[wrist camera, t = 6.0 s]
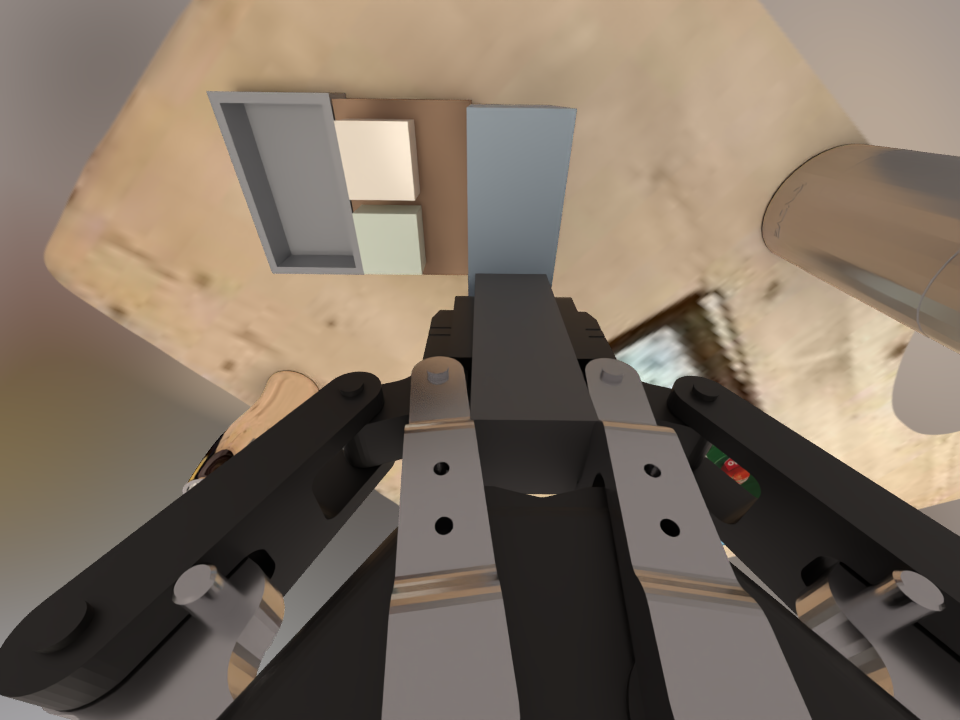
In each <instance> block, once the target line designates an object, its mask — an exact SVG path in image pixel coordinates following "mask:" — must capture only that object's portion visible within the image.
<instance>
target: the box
mask: <svg viewBox="0 0 960 720" xmlns="http://www.w3.org/2000/svg"><path fill="white" fill-rule="evenodd" d="M206 92H207V95H208V97H209V100H210V103H211V106H212V108H213V111H214V114H215V117H216V119H217V122H218V125H219V128H220V130H221V133H222V136H223V139H224V141H225V144H226V147H227V150H228V152H229V155H230V158H231V161H232V163H233V166H234V169H235V172H236V174H237V177H238V180H239V183H240V186H241V188H242V191H243V194H244V197H245V199H246V202H247V205H248V208H249V210H250V213H251V216H252V219H253V221H254V224H255V227H256V230H257V232H258V235H259V238H260V241H261V243H262V246H263V249H264V252H265V254H266V257H267V260H268V263H269V265H270V268H271V271H272V273H276V274H353V275H364V271H363V266H362V261H361V256H360V251H359V245H358V240H357V235H356V230H355V225H354V220H353V215H352V213H353V207H352V201H351V200H349V195H348V190H347V185H346V180H345V175H344V170H343V165H342V159H341V154H340V149H339V144H338V139H337V134H336V129H335V124H334V121H335V120H336V119H335V114H334V109H333V104H332V99H346V95H345V93H294V92H220V91H206Z"/></svg>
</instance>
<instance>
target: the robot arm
mask: <svg viewBox="0 0 960 720" xmlns="http://www.w3.org/2000/svg"><path fill="white" fill-rule="evenodd" d="M762 231H763V239H764V241H765V244H766V246H767V247H768V248H769V250H770V251H771V252H773V253H774V254H776V255H778V256H780V257H781V258H783V259H785V260H787V261H789V262H790V263H792V264H794V265H796V266H798V267H800V268H801V269H803V270H805V271H806V272H808V273H810V274H812V275H814V276H815V277H817V278H819V279H821V280H823V281H825V282H827V283H828V284H830V285H832V286H834V287H836V288H838V289H839V290H841V291H843V292H845V293H847V294H849V295H851V296H852V297H854V298H856V299H858V300H860V301H862V302H863V303H865V304H867V305H869V306H871V307H873V308H874V309H876V310H878V311H880V312H882V313H884V314H886V315H887V316H889V317H891V318H893V319H895V320H897V321H898V322H900V323H902V324H904V325H906V326H908V327H910V328H911V329H913V330H915V331H917V332H919V333H921V334H923V335H924V336H926V337H928V338H931V339H932V340H934V341H936V342H938V343H940V344H942V345H943V346H945V347H947V348H949V349H951V350H953V351H955V352H956V353H958V354H960V157H957V156H950V155H942V154H934V153H927V152H919V151H912V150H905V149H898V148H890V147H881V146H874V145H866V144H849V145H843V146H838V147H836V148H833V149H830V150H828V151H825V152H823V153H821V154H819V155H818V156H816V157H814V158H812V159H811V160H809V161H808V162H806V163H805V164H804V165H802V166H801V167H800V168H799V169H797V170H796V171H795V172H794V173H793V174H792V175H791V176H790V177H789V178H788V179H787V180H786V181H785V182H784V183H783V184H782V186H781V187H780V188H779V190H778V191H777V192H776V193H775V195H774V197H773V199H772V200H771V202H770V204H769V206H768V208H767V211H766V213H765V216H764V221H763V227H762ZM474 297H475V296H455V303H454V310H440V311H439V312H438V313H437V314H436V315H435V316H434V317H433V318H432V321H431V325H430V330H429V336H428V339H427V343H426V348H425V352H424V357H423V360H422V361H420V362H419V363H417V364H416V365H415V366H414V368H413V370H412V373H411V376H410V377H408V378H406V379H403V380H400V381H396V382H391V383H386V384H381V382H380V380H379V378H378V377H377V376H375V375H373V374H371V373H368V372H351V373H347V374H344V375H341V376H339V377H337V378H335V379H334V380H332V381H331V382H330V383H328V384H327V385H326V386H324V387H323V388H322V389H320V390H319V391H318V392H317V393H315V394H314V395H313V396H311V397H310V398H309V399H307V400H306V401H305V402H303V403H302V404H301V405H300V406H298V407H297V408H296V409H294V410H293V411H292V412H290V413H289V414H288V415H286V416H285V417H284V418H283V419H281V420H280V421H279V422H277V423H276V424H275V425H273V426H272V427H271V428H269V429H268V430H267V431H266V432H264V433H263V434H262V435H260V436H259V437H258V438H256V439H255V440H254V441H252V442H251V443H250V444H249V445H247V446H246V447H245V448H243V449H242V450H241V451H239V452H238V453H237V454H235V455H234V456H233V457H232V458H230V459H229V460H228V461H226V462H225V463H224V464H222V465H221V466H220V467H218V468H217V469H216V470H215V471H213V472H212V473H211V474H209V475H208V476H207V477H205V478H204V479H203V480H201V481H200V482H199V483H198V484H196V485H195V486H194V487H192V488H191V489H190V490H188V491H187V492H186V493H184V494H183V495H182V496H181V497H179V498H178V499H177V500H175V501H174V502H173V503H172V504H170V505H169V506H168V507H166V508H165V509H164V510H162V511H161V512H160V513H158V514H157V515H156V516H155V517H153V518H152V519H151V520H149V521H148V522H147V523H145V524H144V525H143V526H141V527H140V528H139V529H138V530H136V531H135V532H134V533H132V534H131V535H130V536H128V537H127V538H126V539H124V540H123V541H122V542H120V543H119V544H118V545H117V546H115V547H114V548H113V549H111V550H110V551H109V552H107V553H106V554H105V555H103V556H102V557H101V558H100V559H98V560H97V561H96V562H94V563H93V564H92V565H90V566H89V567H88V568H86V569H85V570H84V571H83V572H81V573H80V574H79V575H78V576H76V577H75V578H74V579H72V580H71V581H69V582H68V583H67V584H66V585H64V586H63V587H62V588H60V589H59V590H58V591H56V592H55V593H54V594H52V595H51V596H50V597H49V598H47V599H46V600H45V601H44V602H42V603H41V604H40V605H39V606H37V607H36V608H35V609H34V610H32V611H31V612H30V613H29V614H28V615H27V616H26V617H25V618H24V619H23V620H22V621H21V622H20V623H19V624H18V625H17V626H16V628H15V629H14V630H13V631H12V633H11V634H10V635H9V636H8V638H7V639H6V640H5V642H4V643H3V645H2V647H1V648H0V695H2V696H6V697H9V698H13V699H16V700H20V701H23V702H27V703H30V704H34V705H37V706H41V707H42V708H43V710H45V711H46V712H48V713H50V714H53V715H57V716H60V717H64V718H68V719H71V720H960V536H958V535H956V534H955V533H953V532H952V531H950V530H949V529H947V528H945V527H944V526H942V525H941V524H939V523H938V522H936V521H934V520H933V519H931V518H930V517H928V516H927V515H925V514H923V513H922V512H920V511H919V510H917V509H916V508H914V507H912V506H911V505H909V504H908V503H906V502H905V501H903V500H901V499H900V498H898V497H897V496H895V495H894V494H892V493H890V492H889V491H887V490H886V489H884V488H883V487H881V486H879V485H878V484H876V483H875V482H873V481H872V480H870V479H868V478H867V477H865V476H864V475H862V474H860V473H859V472H857V471H856V470H854V469H853V468H851V467H849V466H848V465H846V464H845V463H843V462H842V461H840V460H838V459H837V458H835V457H834V456H832V455H831V454H829V453H827V452H826V451H824V450H823V449H821V448H820V447H818V446H816V445H815V444H813V443H812V442H810V441H809V440H807V439H805V438H804V437H802V436H801V435H799V434H798V433H796V432H794V431H793V430H791V429H790V428H788V427H787V426H785V425H783V424H782V423H780V422H779V421H777V420H775V419H774V418H772V417H771V416H769V415H768V414H766V413H764V412H763V411H761V410H760V409H758V408H757V407H755V406H753V405H752V404H750V403H749V402H747V401H746V400H744V399H742V398H741V397H739V396H738V395H736V394H735V393H733V392H731V391H730V390H728V389H727V388H725V387H724V386H722V385H720V384H718V383H717V382H714V381H712V380H709V379H706V378H703V377H698V376H684V377H681V378H679V379H677V380H676V381H675V383H674V385H673V387H672V389H670V388H666V387H661V386H657V385H652V384H648V383H645V382H642V381H641V380H640V377H639V375H638V373H637V372H636V370H635V369H634V368H632V367H631V366H630V365H628V364H626V363H624V362H622V361H619V360H617V359H616V357H615V355H614V353H613V352H612V350H611V348H610V346H609V344H608V342H607V340H606V338H604V337H605V336H604V334H603V332H602V331H601V328H600V326H599V324H598V322H597V320H596V319H595V318H593V317H592V316H591V315H589V314H588V313H587V312H578V311H577V309H576V307H575V305H574V302H573V300H572V298H570V297H555V300H556V303H557V305H558V308H559V311H560V314H561V316H562V319H563V322H564V325H565V327H566V330H567V333H568V336H569V338H570V341H571V344H572V347H573V349H574V352H575V355H576V358H577V360H578V363H579V366H580V369H581V372H582V374H583V377H584V380H585V383H586V385H587V388H588V391H589V394H590V396H591V399H592V402H593V405H594V407H595V410H596V413H597V416H598V418H599V421H598V422H595V423H594V426H593V429H592V433H591V436H590V439H589V452H588V456H587V459H586V463H585V466H584V469H583V472H582V476H581V479H580V482H579V481H577V483H576V487H575V490H573V491H569V492H565V493H561V494H557V495H553V496H549V497H536V496H532V495H527V494H523V493H519V492H515V491H511V490H507V489H503V488H499V487H495V486H484V485H483V479H482V472H481V465H480V459H479V452H478V445H477V439H476V432H475V425H474V421H473V419H470V407H471V380H472V352H473V325H474ZM712 445H714V446H715V447H716V448H718V449H719V450H720V451H721V452H723V453H724V454H725V455H727V456H728V457H729V458H730V459H732V460H733V461H734V462H736V463H737V464H738V465H739V466H741V467H742V468H743V469H745V470H746V471H747V472H748V473H750V474H751V475H752V476H753V477H754V478H755V479H756V480H757V482H758V484H759V486H760V489H761V494H760V497H759V498H756V497H755V496H753V495H752V494H751V493H749V492H748V491H747V490H746V489H745V488H743V487H742V486H741V485H740V484H738V483H737V482H736V481H735V480H734V479H732V478H731V477H730V476H729V475H727V474H726V473H725V472H724V471H723V470H721V469H720V468H719V467H718V466H716V465H715V464H714V463H713V462H712V461H710V460H709V459H708V458H707V457H705V456H706V454H707V453H708V451H709V449H710V448H711V446H712ZM400 459H402V475H401V491H400V507H399V524H398V527H397V528H396V529H395V530H394V531H393V532H392V533H391V534H390V535H389V536H388V537H387V538H386V539H385V540H384V541H383V542H382V544H381V545H380V546H379V547H378V548H377V549H376V550H375V551H374V552H373V553H372V554H371V555H370V556H369V557H368V559H366V561H365V562H364V563H363V564H362V565H361V566H360V567H359V568H358V569H357V570H356V571H355V572H354V573H353V575H351V576H350V578H349V579H348V580H347V581H346V582H345V583H344V584H343V585H342V586H341V587H340V588H339V589H338V590H337V591H336V592H335V593H334V595H333V596H332V597H331V598H330V599H329V600H328V601H327V602H326V603H325V604H324V605H323V606H322V607H321V608H320V609H319V611H318V612H317V613H316V614H315V615H314V616H313V617H312V618H311V619H310V620H309V621H308V622H307V623H306V624H305V626H303V628H302V629H301V630H300V631H299V632H298V633H297V634H296V635H295V636H294V637H293V638H292V639H291V641H289V643H288V644H287V645H286V646H285V647H284V648H283V649H282V650H281V651H280V652H279V653H278V654H277V655H276V656H275V657H274V658H273V659H272V660H271V661H270V663H269V664H268V665H267V666H266V667H265V668H264V669H263V670H262V671H261V672H260V673H259V674H258V675H257V671H258V668H259V665H260V663H261V660H262V658H263V656H264V654H265V652H266V651H267V650H268V649H269V647H270V646H271V644H272V643H273V640H274V638H275V637H276V635H277V633H278V631H279V629H280V626H281V624H282V621H283V616H284V608H285V607H284V599H283V597H284V596H285V594H286V593H287V592H288V591H289V589H290V588H291V587H292V586H293V585H294V584H295V583H296V581H297V580H298V579H299V578H300V577H301V575H302V574H303V573H304V572H305V570H306V569H307V568H308V567H309V566H310V565H311V563H312V562H313V561H314V560H315V558H316V557H317V556H318V555H319V554H320V552H321V551H322V550H323V549H324V548H325V547H326V545H327V544H328V543H329V542H330V541H331V539H332V538H333V537H334V536H335V535H336V533H337V532H338V531H339V530H340V529H341V527H342V526H343V525H344V524H345V523H346V522H347V520H348V519H349V518H350V517H351V515H352V514H353V513H354V512H355V511H356V509H357V508H358V507H359V506H360V505H361V504H362V502H363V501H364V500H365V499H366V498H367V496H368V495H369V494H370V493H371V492H372V490H373V489H374V488H375V487H376V486H377V484H378V483H379V482H380V481H381V480H382V479H383V477H384V476H385V475H386V474H387V473H388V471H389V470H390V469H391V468H392V466H393V465H394V463H395V461H396V460H400ZM720 540H721V541H722V542H723V543H724V544H725V545H726V546H727V547H728V548H729V549H730V550H731V551H732V552H733V553H734V554H735V555H736V556H737V557H738V558H739V559H740V560H741V561H742V562H743V563H744V564H745V565H746V566H747V567H748V568H749V569H750V570H751V571H752V572H753V573H754V574H755V575H756V576H758V577H759V579H761V580H762V581H763V582H764V583H765V584H766V585H767V586H768V587H769V588H770V589H771V590H772V591H773V592H774V593H775V594H776V595H777V596H778V597H779V598H780V599H781V600H782V601H783V602H784V603H785V604H786V605H787V606H788V607H789V608H790V609H791V610H792V611H793V612H794V613H795V614H797V616H798V618H799V619H798V618H797V617H796V616H795V615H793V614H792V613H791V612H790V611H789V610H788V609H786V608H785V607H784V606H783V605H782V604H780V603H779V602H778V601H777V600H776V599H774V598H773V597H772V596H771V595H769V594H768V593H767V592H766V591H765V590H763V589H762V588H761V587H760V586H758V585H757V584H756V583H755V582H754V581H753V580H751V579H750V578H749V577H748V576H746V575H745V574H744V573H743V572H742V571H740V570H739V569H738V568H737V567H736V566H734V565H733V564H732V563H731V562H730V561H729V560H728V558H727V555H726V553H725V550H724V548H723V545H722V543H721V541H720ZM256 675H257V676H256Z"/></svg>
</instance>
